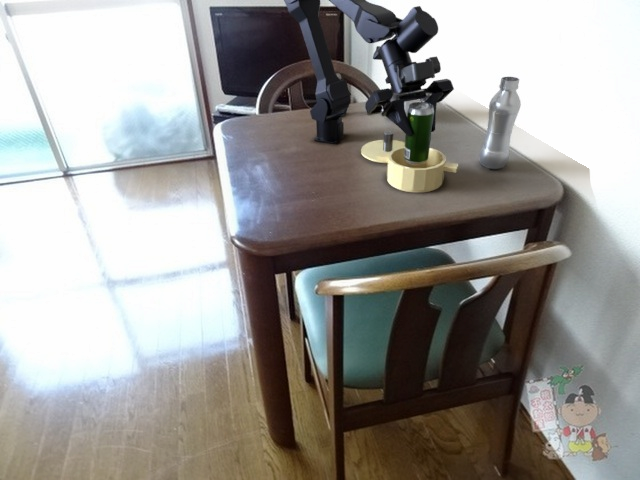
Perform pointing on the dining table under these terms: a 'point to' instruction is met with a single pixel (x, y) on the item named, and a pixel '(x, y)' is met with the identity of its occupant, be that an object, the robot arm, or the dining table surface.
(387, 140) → the pot lid
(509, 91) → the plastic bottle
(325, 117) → the robot arm
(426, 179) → the pot
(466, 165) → the dining table surface
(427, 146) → the beer can
